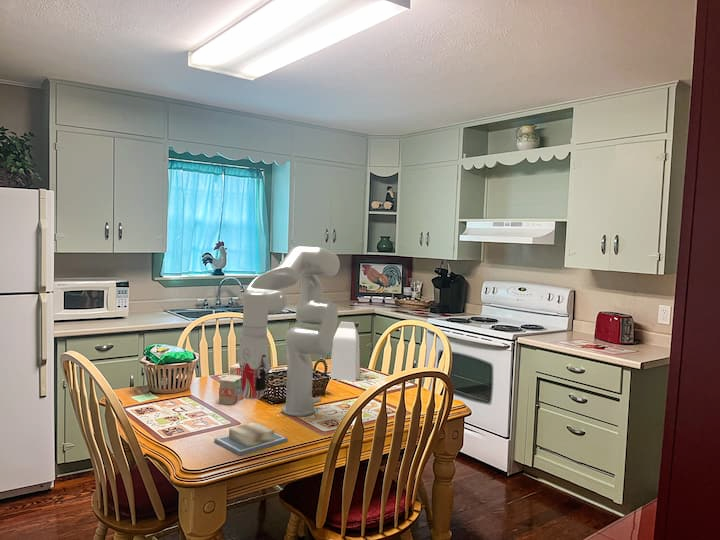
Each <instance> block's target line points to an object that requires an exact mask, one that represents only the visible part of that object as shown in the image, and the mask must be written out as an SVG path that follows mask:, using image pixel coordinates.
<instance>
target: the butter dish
mask: <svg viewBox="0 0 720 540" xmlns="http://www.w3.org/2000/svg"><path fill="white" fill-rule="evenodd" d="M288 440H289V439H288V437H286V436H283V435H281V434H279V433H277V432H275V430H274V429H273V428H270V427H268V426H266V425H264V424H261V423H259V422H257V421H252V422H250V423H249V422H248V423H245V424H241V425H237V426H233V427H230V428H228V435H224V436H220V437H217V438H214V440H213V442H214V443H215V444H218V445H219V446H222V447H223V448H224V449H227V450H228V451H230V452H232V453H234V454H236V455H238V456H244V455H247V454H250V453H254V452H257V451H261V450H263V449H266V448H269V447H274V446H276V445H279V444H282V443H283V444H284V443H286V442H289V441H288Z"/></svg>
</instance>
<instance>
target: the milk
mask: <svg viewBox="0 0 720 540" xmlns="http://www.w3.org/2000/svg"><path fill="white" fill-rule="evenodd" d="M360 355H361V354H360V334H359V333H358V330H357V328H356V324H355V322H353V321H352V322H351V321H350V322H349V321H340V323H339V325H338V327H337V328H336V330H335V334H334V339H333V344H332V348H331V359H330V369H329V378H330V377H331V379H338V380H337V381H339V380H354V381H355V380H356V379H357V378H358V379H359V377H360V376H359V375H360V374H361V373H360V369H361V368H360V367H361V365H360V362H361V361H360ZM358 376H359V377H358ZM358 379H357V380H358ZM357 380H356V381H357Z"/></svg>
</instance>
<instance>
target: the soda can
mask: <svg viewBox="0 0 720 540" xmlns="http://www.w3.org/2000/svg"><path fill="white" fill-rule="evenodd" d="M246 362H248V361H246ZM260 367H263V366H262V365H260ZM260 367H259V368H260ZM261 372H262V370H260V373H261ZM256 378H258V377H257V373H256V370H253V369H251V368H250V366H249V364H248V363H244V364H243V366H242V389H241V390H242V396H243V397H244V399H246V400H252V401H253V400H258V399H261V398H262V397H263V396H264V394H265V389H264V390H260V391H256Z"/></svg>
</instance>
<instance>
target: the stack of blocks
mask: <svg viewBox="0 0 720 540" xmlns="http://www.w3.org/2000/svg"><path fill="white" fill-rule="evenodd" d="M240 370H241V368H240V365H239V363H238V362H236V363H235V364H233V365H231V366H230V367H229V375H226V376H224V377H223V378H220V379H219V389H218V404H223V405H232V406H234V405H235V404H237V403H239V402H240V401H242V400H243V399H245V397H243V396H242V390H241V389H242V385H241V374H242V372H241V371H240Z"/></svg>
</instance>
